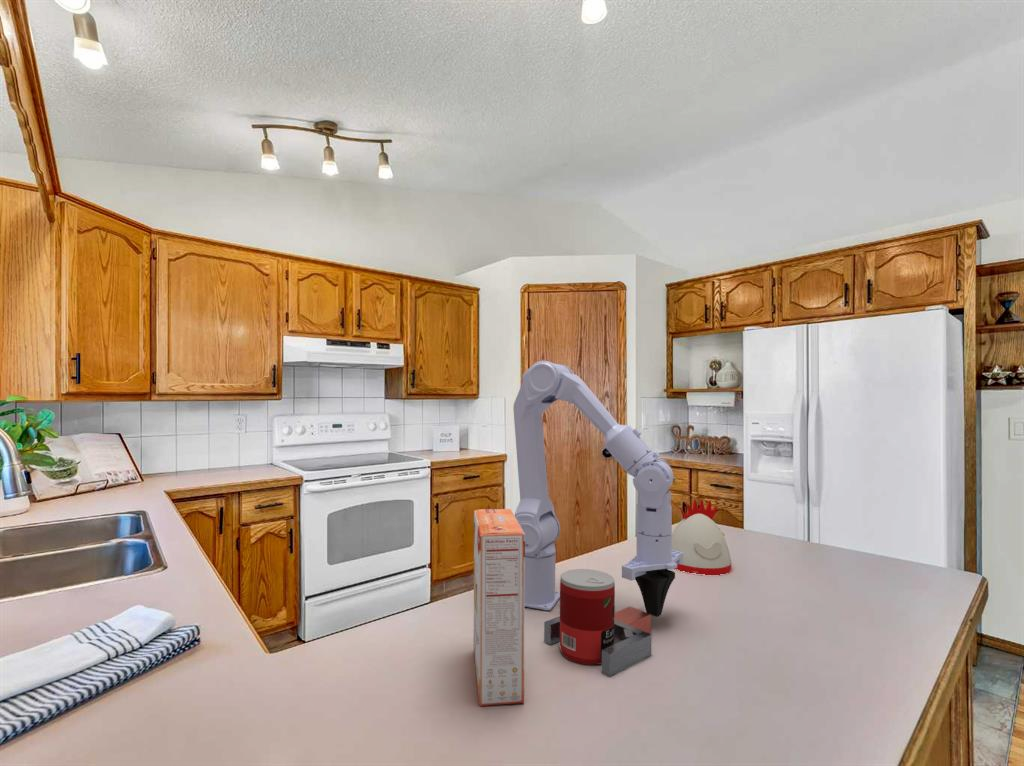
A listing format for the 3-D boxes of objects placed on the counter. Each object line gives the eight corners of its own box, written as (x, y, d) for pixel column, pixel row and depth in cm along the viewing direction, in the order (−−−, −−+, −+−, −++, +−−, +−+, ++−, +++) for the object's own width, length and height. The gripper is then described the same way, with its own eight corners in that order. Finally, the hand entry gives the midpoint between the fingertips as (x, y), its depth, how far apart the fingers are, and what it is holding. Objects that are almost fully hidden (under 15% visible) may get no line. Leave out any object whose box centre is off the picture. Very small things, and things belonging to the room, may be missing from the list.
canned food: (614, 669, 71) (614, 588, 72) (556, 662, 73) (557, 583, 73) (614, 643, 79) (614, 570, 79) (562, 638, 80) (562, 566, 81)
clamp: (609, 616, 89) (609, 598, 89) (674, 643, 79) (674, 623, 79) (544, 641, 79) (544, 621, 79) (609, 676, 69) (609, 654, 69)
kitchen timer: (741, 576, 110) (741, 506, 111) (677, 575, 110) (677, 505, 111) (716, 557, 124) (716, 494, 125) (659, 556, 124) (659, 493, 125)
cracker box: (470, 651, 75) (472, 507, 76) (511, 650, 76) (513, 507, 77) (475, 708, 62) (478, 532, 62) (525, 705, 62) (527, 531, 63)
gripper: (647, 544, 79) (647, 634, 79) (699, 530, 88) (698, 611, 88) (611, 535, 85) (611, 619, 84) (663, 522, 94) (663, 598, 93)
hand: (653, 614), depth 86 cm, fingers closed
